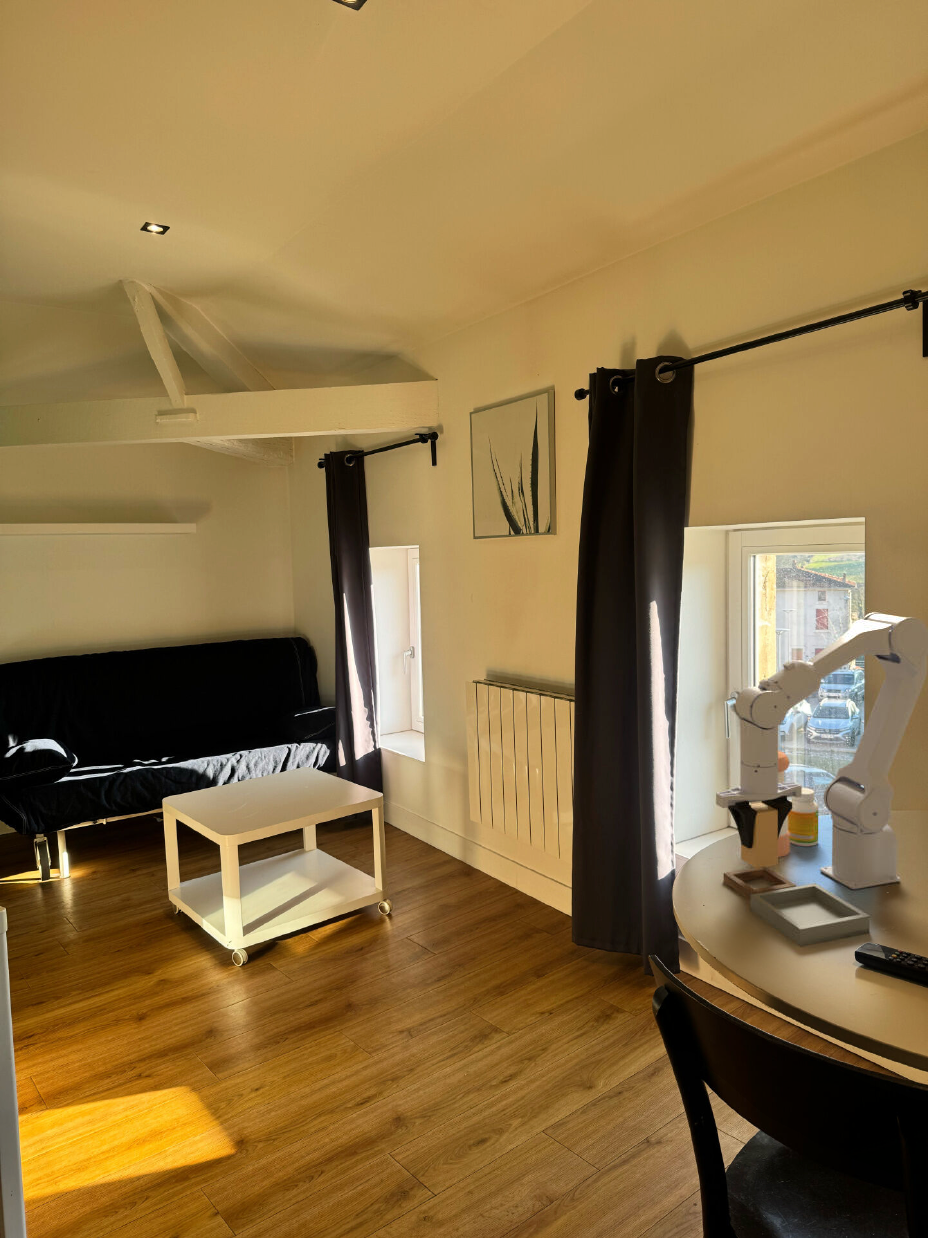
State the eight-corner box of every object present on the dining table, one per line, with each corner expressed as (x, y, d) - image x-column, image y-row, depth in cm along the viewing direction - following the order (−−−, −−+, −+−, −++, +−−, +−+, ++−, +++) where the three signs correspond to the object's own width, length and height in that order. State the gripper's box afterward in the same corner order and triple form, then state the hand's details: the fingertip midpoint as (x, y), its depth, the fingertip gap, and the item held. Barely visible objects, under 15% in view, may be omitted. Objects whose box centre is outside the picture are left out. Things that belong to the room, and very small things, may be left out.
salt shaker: (738, 846, 151) (738, 744, 149) (770, 839, 154) (770, 739, 152) (766, 860, 144) (766, 754, 142) (798, 853, 147) (799, 748, 145)
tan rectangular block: (762, 855, 136) (762, 802, 135) (777, 864, 132) (777, 810, 131) (741, 858, 135) (740, 805, 134) (755, 868, 131) (755, 813, 130)
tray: (815, 898, 129) (815, 883, 129) (869, 932, 118) (869, 916, 118) (750, 910, 126) (750, 894, 126) (800, 946, 115) (800, 929, 115)
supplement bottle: (821, 847, 149) (821, 795, 148) (789, 846, 150) (789, 795, 149) (814, 836, 154) (815, 786, 153) (784, 835, 155) (784, 785, 154)
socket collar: (765, 874, 139) (765, 866, 138) (796, 894, 131) (796, 885, 131) (723, 881, 137) (723, 873, 136) (752, 902, 129) (752, 893, 129)
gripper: (782, 751, 137) (782, 829, 139) (705, 761, 133) (705, 841, 135) (810, 762, 130) (810, 844, 132) (730, 773, 127) (730, 857, 128)
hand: (759, 844), depth 133 cm, fingers closed on tan rectangular block, 4 cm apart
